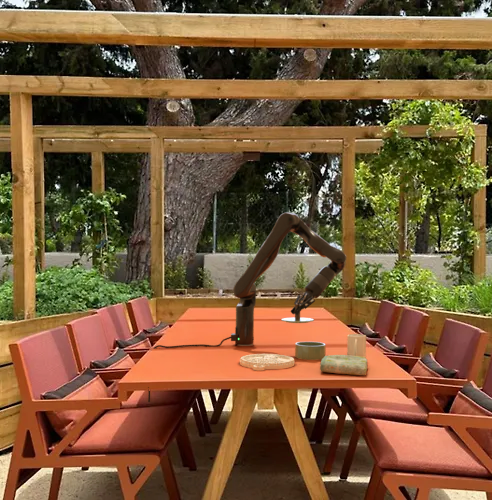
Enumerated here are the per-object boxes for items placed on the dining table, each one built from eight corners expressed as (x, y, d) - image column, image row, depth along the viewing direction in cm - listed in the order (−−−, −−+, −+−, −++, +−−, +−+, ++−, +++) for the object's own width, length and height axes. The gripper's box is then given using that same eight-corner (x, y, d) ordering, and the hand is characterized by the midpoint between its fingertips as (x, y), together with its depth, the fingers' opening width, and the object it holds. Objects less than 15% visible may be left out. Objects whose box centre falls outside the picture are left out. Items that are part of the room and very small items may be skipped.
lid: (281, 323, 267) (281, 305, 267) (281, 319, 282) (281, 302, 282) (315, 323, 267) (315, 305, 267) (312, 320, 282) (312, 302, 282)
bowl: (295, 360, 266) (296, 346, 266) (294, 355, 280) (294, 341, 280) (326, 361, 266) (326, 346, 266) (323, 355, 279) (323, 341, 279)
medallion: (299, 360, 266) (299, 355, 266) (285, 372, 240) (285, 366, 240) (248, 357, 272) (249, 352, 272) (229, 368, 246) (229, 362, 246)
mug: (363, 366, 254) (363, 338, 254) (343, 365, 257) (343, 337, 257) (367, 361, 265) (367, 334, 265) (348, 360, 268) (348, 333, 268)
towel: (368, 366, 254) (368, 354, 254) (366, 377, 233) (366, 363, 233) (324, 364, 258) (325, 352, 258) (319, 374, 237) (319, 361, 237)
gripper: (304, 279, 284) (281, 306, 279) (319, 281, 271) (295, 309, 266) (314, 290, 286) (291, 317, 281) (329, 292, 273) (306, 320, 268)
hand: (293, 313), depth 274 cm, fingers closed on lid, 2 cm apart
